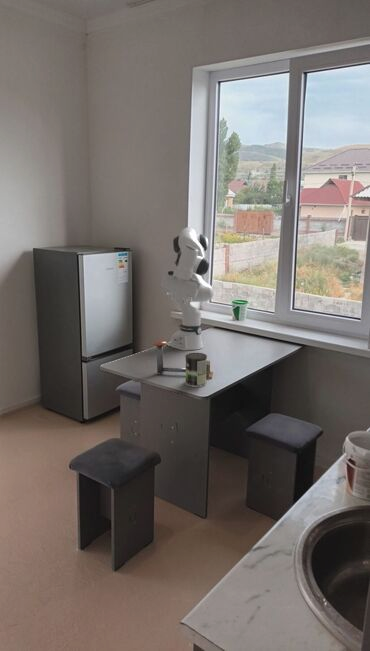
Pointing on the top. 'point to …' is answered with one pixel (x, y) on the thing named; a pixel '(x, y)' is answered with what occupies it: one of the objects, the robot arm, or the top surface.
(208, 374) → the eye post
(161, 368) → the hook rod
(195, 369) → the coffee can
